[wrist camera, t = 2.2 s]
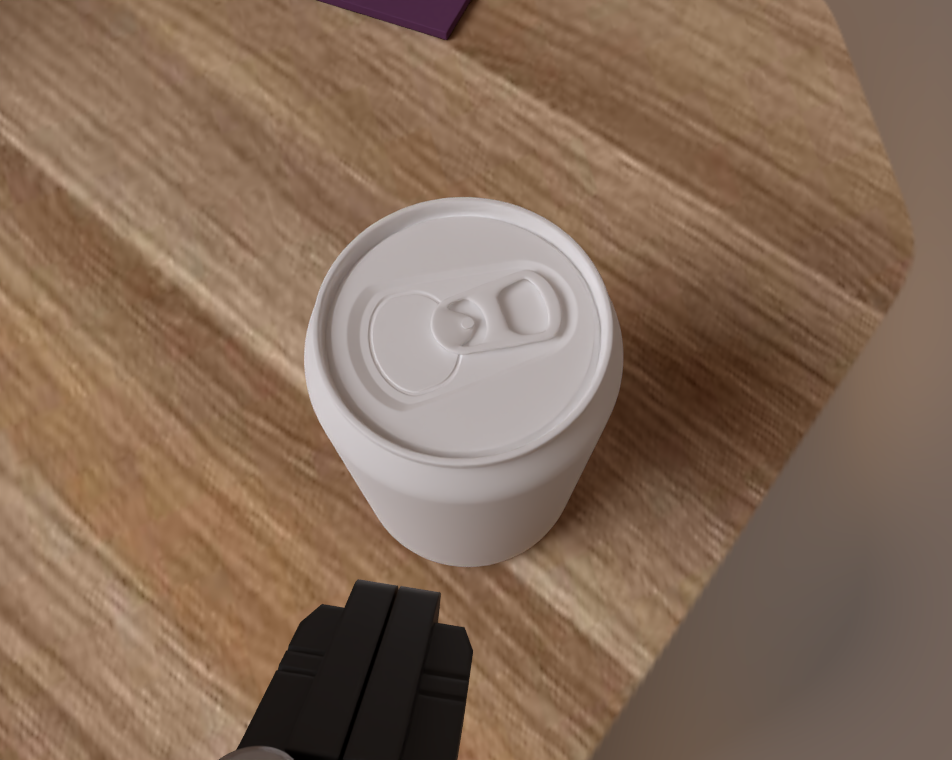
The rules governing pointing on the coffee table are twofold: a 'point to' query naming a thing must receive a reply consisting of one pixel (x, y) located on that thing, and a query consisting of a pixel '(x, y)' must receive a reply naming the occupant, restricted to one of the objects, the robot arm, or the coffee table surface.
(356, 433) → the beverage can
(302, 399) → the coffee table surface
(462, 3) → the cloth
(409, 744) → the robot arm
